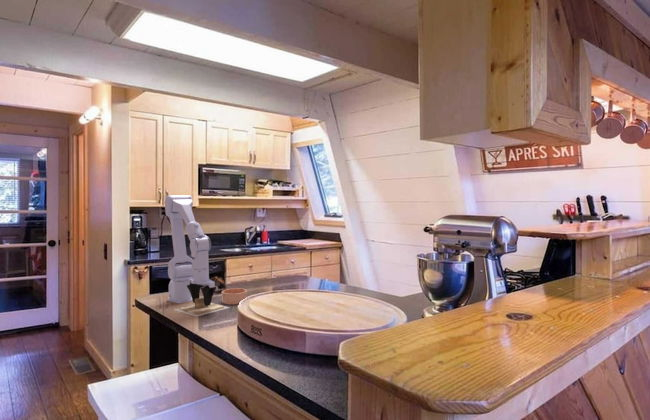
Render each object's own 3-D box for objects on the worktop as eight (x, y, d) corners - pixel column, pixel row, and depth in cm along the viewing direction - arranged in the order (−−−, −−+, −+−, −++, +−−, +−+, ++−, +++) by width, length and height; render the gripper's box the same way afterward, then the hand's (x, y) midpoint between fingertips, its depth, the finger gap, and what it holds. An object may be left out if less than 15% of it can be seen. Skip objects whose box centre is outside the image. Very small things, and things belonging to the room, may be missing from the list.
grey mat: (173, 310, 161) (173, 309, 161) (206, 302, 173) (206, 301, 173) (196, 317, 152) (196, 316, 152) (229, 308, 164) (229, 307, 164)
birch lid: (179, 309, 162) (178, 298, 161) (205, 302, 171) (205, 292, 171) (197, 314, 154) (197, 303, 154) (224, 307, 163) (224, 297, 163)
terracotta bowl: (217, 302, 173) (216, 291, 173) (236, 297, 180) (236, 287, 180) (232, 306, 166) (232, 295, 166) (252, 301, 174) (251, 290, 174)
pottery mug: (225, 296, 186) (215, 281, 184) (208, 305, 187) (197, 290, 185) (233, 283, 197) (223, 269, 195) (216, 292, 199) (206, 277, 197)
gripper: (180, 268, 163) (181, 303, 164) (203, 272, 154) (204, 309, 155) (196, 265, 169) (197, 299, 169) (219, 269, 160) (219, 305, 160)
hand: (201, 303), depth 162 cm, fingers open, 7 cm apart
